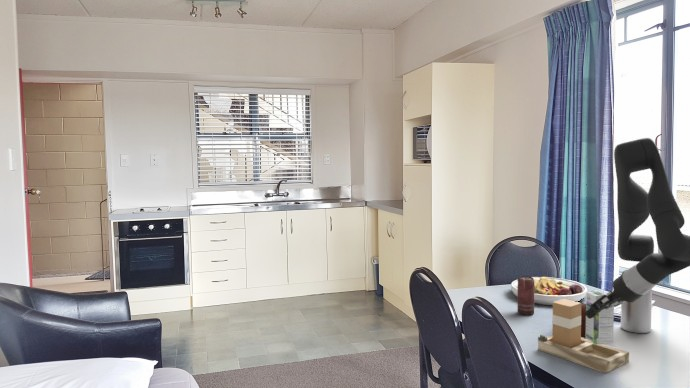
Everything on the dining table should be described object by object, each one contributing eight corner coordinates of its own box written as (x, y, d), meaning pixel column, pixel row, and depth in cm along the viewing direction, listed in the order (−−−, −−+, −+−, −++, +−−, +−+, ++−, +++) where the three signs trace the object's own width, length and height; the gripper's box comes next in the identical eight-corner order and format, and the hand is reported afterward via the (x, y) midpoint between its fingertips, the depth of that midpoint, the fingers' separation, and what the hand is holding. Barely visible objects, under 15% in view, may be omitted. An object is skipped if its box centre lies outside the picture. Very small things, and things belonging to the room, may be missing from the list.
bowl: (497, 297, 224) (497, 279, 224) (532, 284, 244) (532, 267, 244) (566, 313, 202) (566, 293, 201) (598, 296, 222) (599, 278, 221)
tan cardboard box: (563, 343, 170) (563, 298, 168) (580, 349, 165) (581, 303, 163) (552, 348, 166) (552, 302, 165) (569, 354, 161) (570, 306, 160)
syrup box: (584, 338, 159) (585, 291, 158) (603, 336, 159) (603, 290, 158) (595, 344, 153) (595, 296, 152) (614, 343, 154) (614, 295, 152)
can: (517, 315, 200) (517, 279, 199) (518, 310, 206) (518, 275, 205) (533, 316, 198) (534, 280, 197) (534, 311, 204) (534, 276, 202)
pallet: (561, 340, 174) (561, 326, 174) (628, 361, 156) (629, 346, 155) (537, 349, 167) (537, 335, 166) (605, 373, 149) (605, 357, 148)
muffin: (603, 332, 180) (604, 304, 179) (590, 341, 172) (591, 311, 172) (568, 324, 189) (569, 297, 188) (555, 332, 181) (555, 304, 180)
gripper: (638, 268, 152) (599, 298, 163) (612, 275, 144) (573, 306, 155) (657, 289, 148) (616, 319, 159) (631, 298, 140) (589, 329, 151)
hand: (594, 313), depth 157 cm, fingers closed on syrup box, 7 cm apart
